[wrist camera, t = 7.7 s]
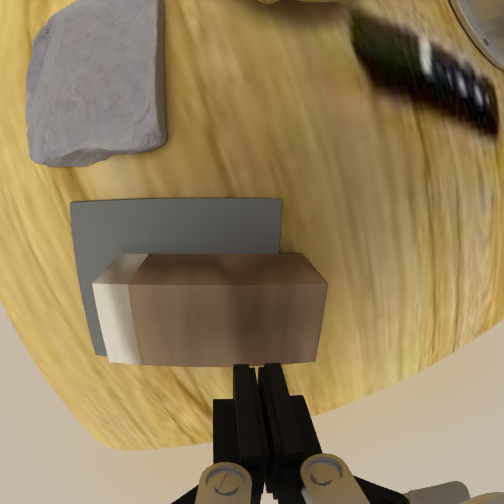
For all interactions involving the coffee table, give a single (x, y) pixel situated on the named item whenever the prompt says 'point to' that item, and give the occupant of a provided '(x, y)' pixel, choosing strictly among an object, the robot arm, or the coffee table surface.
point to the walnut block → (210, 309)
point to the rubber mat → (166, 234)
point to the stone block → (97, 83)
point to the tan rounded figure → (340, 0)
